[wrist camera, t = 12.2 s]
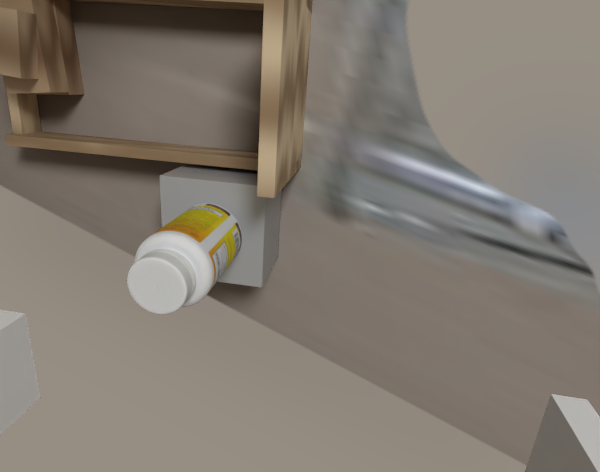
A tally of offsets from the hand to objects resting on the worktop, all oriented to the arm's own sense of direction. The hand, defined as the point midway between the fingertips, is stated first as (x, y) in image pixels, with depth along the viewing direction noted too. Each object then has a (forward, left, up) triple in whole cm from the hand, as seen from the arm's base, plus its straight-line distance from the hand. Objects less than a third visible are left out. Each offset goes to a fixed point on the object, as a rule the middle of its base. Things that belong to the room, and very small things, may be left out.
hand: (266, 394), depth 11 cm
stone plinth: (+5, -10, -31) cm, 33 cm away
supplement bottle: (+5, -10, -24) cm, 26 cm away
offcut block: (-9, -28, -26) cm, 39 cm away
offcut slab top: (-9, -28, -29) cm, 41 cm away
